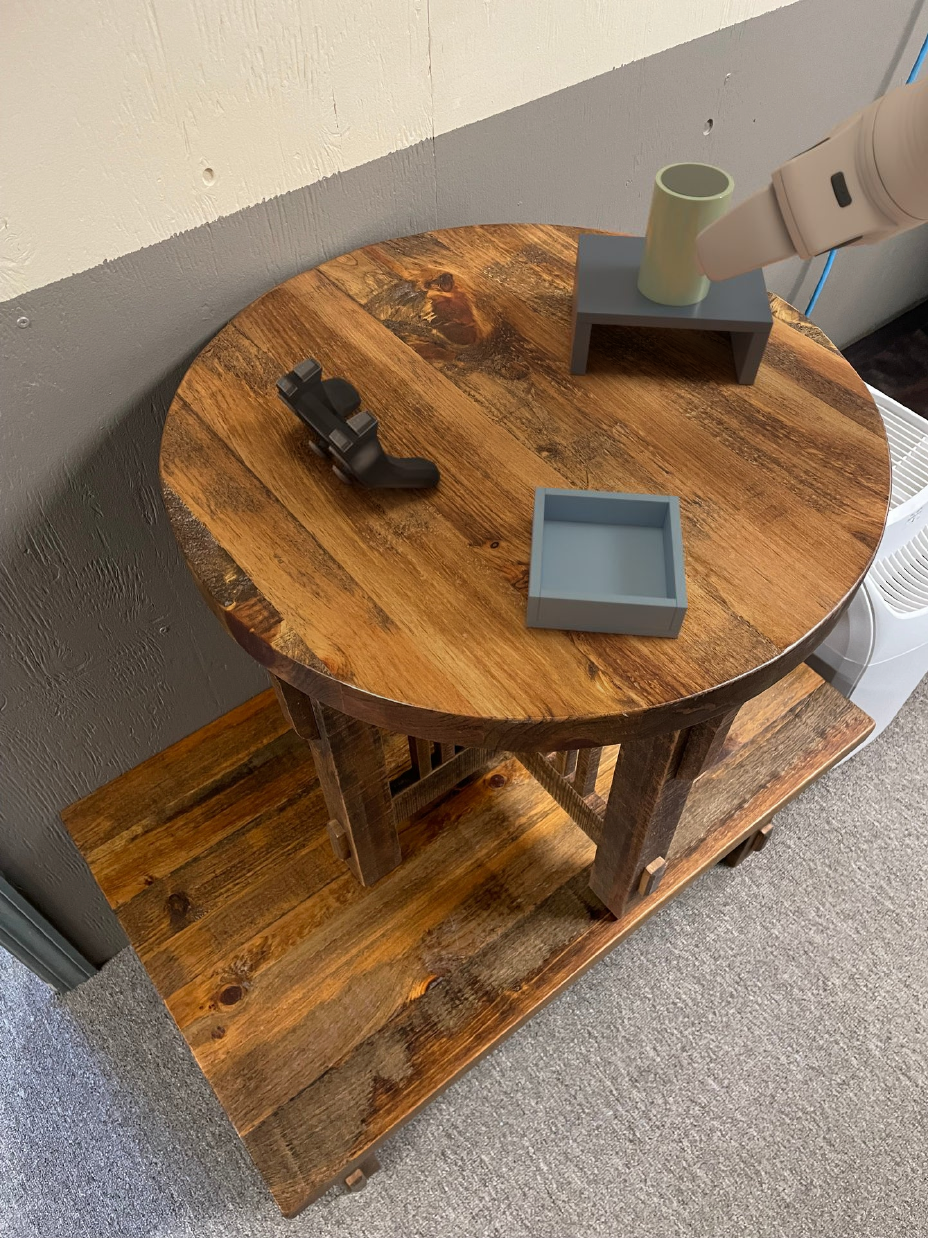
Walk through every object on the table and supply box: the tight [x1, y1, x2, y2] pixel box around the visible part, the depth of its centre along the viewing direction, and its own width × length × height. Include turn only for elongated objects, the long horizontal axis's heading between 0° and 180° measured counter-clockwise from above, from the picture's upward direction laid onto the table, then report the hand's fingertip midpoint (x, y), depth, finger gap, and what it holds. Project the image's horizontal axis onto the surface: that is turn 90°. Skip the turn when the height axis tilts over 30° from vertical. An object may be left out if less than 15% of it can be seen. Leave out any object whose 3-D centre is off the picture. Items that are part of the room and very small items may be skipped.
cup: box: [637, 161, 735, 306], centre depth 79 cm, size 7×7×10 cm
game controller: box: [275, 357, 441, 491], centre depth 75 cm, size 16×7×10 cm, turn 37°
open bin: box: [525, 486, 689, 639], centre depth 68 cm, size 12×12×4 cm
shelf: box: [569, 233, 775, 386], centre depth 87 cm, size 18×14×7 cm
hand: (740, 246), depth 73 cm, fingers open, 8 cm apart
